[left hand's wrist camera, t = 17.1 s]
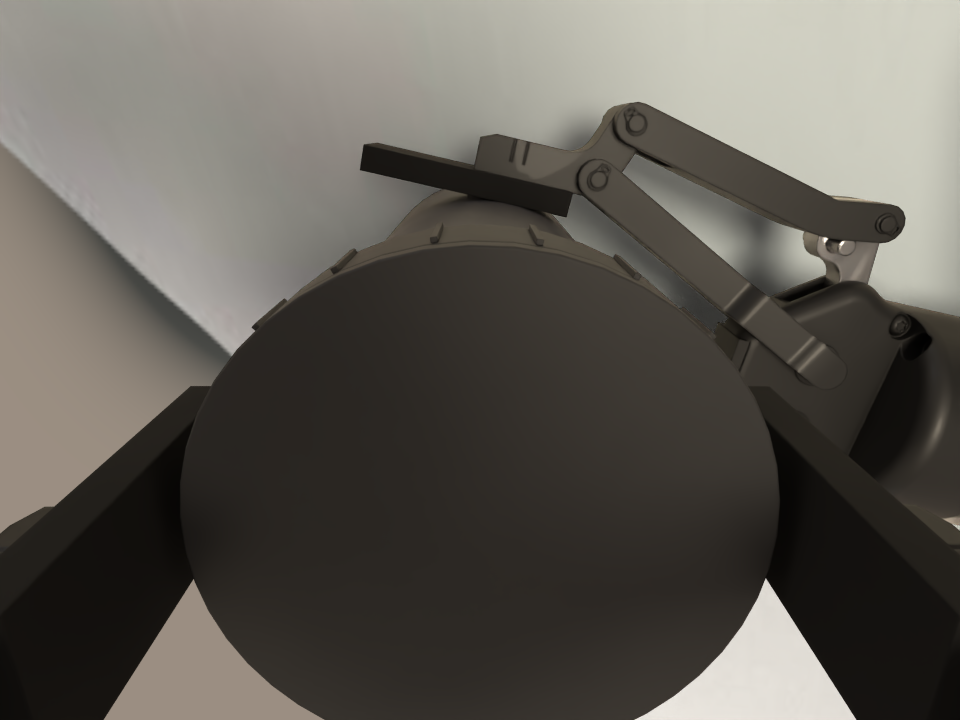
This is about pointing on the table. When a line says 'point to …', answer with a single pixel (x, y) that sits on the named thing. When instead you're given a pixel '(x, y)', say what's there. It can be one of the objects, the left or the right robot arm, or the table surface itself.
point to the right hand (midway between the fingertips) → (348, 292)
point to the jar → (473, 215)
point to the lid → (479, 486)
